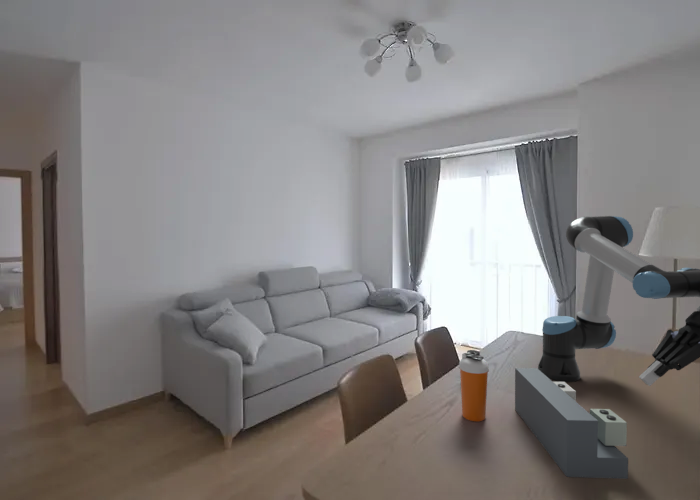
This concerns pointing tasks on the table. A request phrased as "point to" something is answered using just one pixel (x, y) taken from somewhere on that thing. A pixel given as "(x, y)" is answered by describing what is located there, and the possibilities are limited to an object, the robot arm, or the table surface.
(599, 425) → the key two
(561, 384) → the key one
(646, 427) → the table surface
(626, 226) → the robot arm
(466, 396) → the shaker bottle
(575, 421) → the grey stepped stand
